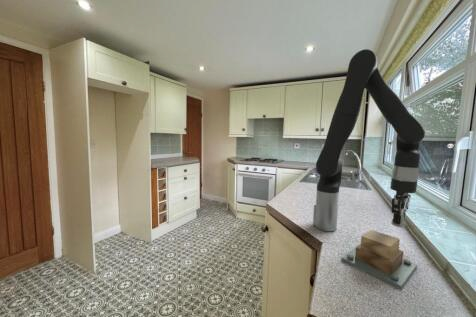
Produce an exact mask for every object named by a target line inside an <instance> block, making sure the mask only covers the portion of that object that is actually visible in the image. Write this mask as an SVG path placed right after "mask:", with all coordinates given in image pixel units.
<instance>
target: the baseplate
mask: <svg viewBox="0 0 476 317" xmlns="http://www.w3.org/2000/svg"><path fill="white" fill-rule="evenodd" d="M355 253H356V247H355V248H353V249H352V250H350V251H348V252H347V253H346V254H344V255H343V256H341V258H340V259H341V261H342V262H344V263H346V264H348V265H350V266H352V267H354V268H356V269H359V270H360V271H363V272H365V273H366V274H368V275H370V276H373V277H375V278H377V279H378V280H381V281H382V282H385V283H387V284H389V285H391V286H393V287H395V288H397V289H399V290H402V289H403V287H404V285H405V284H406V283H407V282H408V281H409V279H410V278H411V277H412V275H413V273H414V272H415V271H416V269H417V268H418V264H417V263H414V262H412V261H410V260H408V259H403V261H402V264H401V265H400V266H399V268H398V269H397V270H396V271H395V272H394V273H393V274H391V275H390V274H387V273H385V272H383V271H381V270H379V269H376V268H374V267H372V266H370V265H368V264H365V263H363V262H361V261H359V260H357V259H355Z"/></svg>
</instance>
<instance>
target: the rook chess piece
mask: <svg viewBox="0 0 476 317" xmlns="http://www.w3.org/2000/svg"><path fill="white" fill-rule="evenodd" d="M401 207H402V206H401ZM405 209H406V208H405ZM405 209H403V211H402V216H401V224H399V225H398V224H395V223H393V218H391V222H390V223H391V225H392V226H395V227H396V228H399V229H400V228H401V229H402V228H403V229H404V228H405V227H406V224H407V223H406V221H405V220H404V213H405V214H406V212H404V210H405ZM396 210H397V211H398V209H396Z"/></svg>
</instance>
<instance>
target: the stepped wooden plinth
mask: <svg viewBox="0 0 476 317" xmlns="http://www.w3.org/2000/svg"><path fill="white" fill-rule="evenodd" d="M360 237H361V239H360V244H358V245H357V246H355V248H356V253H355V259H357V260H359V261H361V262H363V263H365V264H368V265H370V266H372V267H374V268H376V269H379V270H381V271H383V272H385V273H387V274H390V275H391V274H393V273H394V272H395V271H396V270H397V269H398V268H399V266H400V265H401V264H402V261H403V258H404V251H403V250H401V249H399V248H400V238H398V237H395V236H392V235H388V234H386V233H384V232H383V233H382V232H380V231H377V230H374V229H370V230H368V231H367V232H366V233H363V234H362V235H361V236H360Z"/></svg>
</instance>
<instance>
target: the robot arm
mask: <svg viewBox="0 0 476 317" xmlns="http://www.w3.org/2000/svg"><path fill="white" fill-rule="evenodd" d="M345 77H346V78H345V82H344V84H343V89H342V91H341V94H340V96H339V99H338V101H337V103H336V105H335V108H334V111H333V115H332V117H331V120H330V125H329V128H328V130H327V134H326V138H325V141H324V144H323V147H322V149H321V151H320V153H319V156H318V158H317V160H316V163H315V170H316V172H317V174H318V175H319V180H318V181H317V184H316V198H315V204H314V206H313V219H312V225H313V226H314V225H315V226H316V227H315V226H314V227H315V228H316V229H318V228H319V230H320V229H321V231H324V232H335V231H336V230H337V229H338V228H337V227H338V215H339V213H338V212H339V197H340V196H339V193H340V187H341V182H342V176H343V163H342V160H341V159H340V156H341V154H342V150H343V147H344V146H345V144H346V142H347V141H348V139H349V138H350V136H351V134H353V133H352V132H353V130H354V129H355V126H356V125H357V121H358V118H359V115H360V111H361V107H362V103H363V102H362V101H363V96H364V91H365V90H366V91H367V92H368V94H369V95H370V97H371V98H372V100H373V102H374V103H375V105H376V106H377V108H378V110H379V111H380V113H381V115H382V117H384V119H385V120H386V122H387V123H388V124H390V125H391V126H392V128H393V129H394V131H395V133H396V140H395V141H396V142H395V147H396V148H395V149H396V150H395V151H396V153H395V155H394V164H393V168H392V171H391V177H390V178H391V180H390V190H391V191H395V192H396V193H395V194H394V195H393V197H392V198H391V213H392V214H393V218H392V219H393V223H395V224H398V225H399V224H401V216H402V211H403V209H405V208H406V209H405V210H404V212H405V213H404V220H405V219H406V213H407V211H408V209H409V205H410V201H411V197H412V196H411V194H415V193H417V190H418V181H419V166H420V159H421V156H420V152H419V149H420V142H421V141H422V140H424V138H425V136H426V131H425V129H424V127H423V126H422V124H421V123H420V122H419V121H418V120H417V119H416V118H415V116H413V115H412V114H411V112H410V111H409V109H408V107H407V106H406V105H405V104H404V102H403V101H402V99H401V98H400V97H399V95H398V94H397V93H396V92H395V91H394V90H393V88H391V87H390V86H389V85H388V84H387V82H386V81H385V79H384V78H383V77H382V74H381V72H380V70H379V67H378V57H377V55H376V53H375V52H374V51H372V50H371V49H368V48H367V49H366V48H365V49H361V50H359V51H357V52H356V53H355V54H354V55H353V56H352V57H351V59H350V60H349V63H348V67H347V72H346V76H345ZM401 206H402V207H401ZM396 209H398V211H397V210H396Z"/></svg>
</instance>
